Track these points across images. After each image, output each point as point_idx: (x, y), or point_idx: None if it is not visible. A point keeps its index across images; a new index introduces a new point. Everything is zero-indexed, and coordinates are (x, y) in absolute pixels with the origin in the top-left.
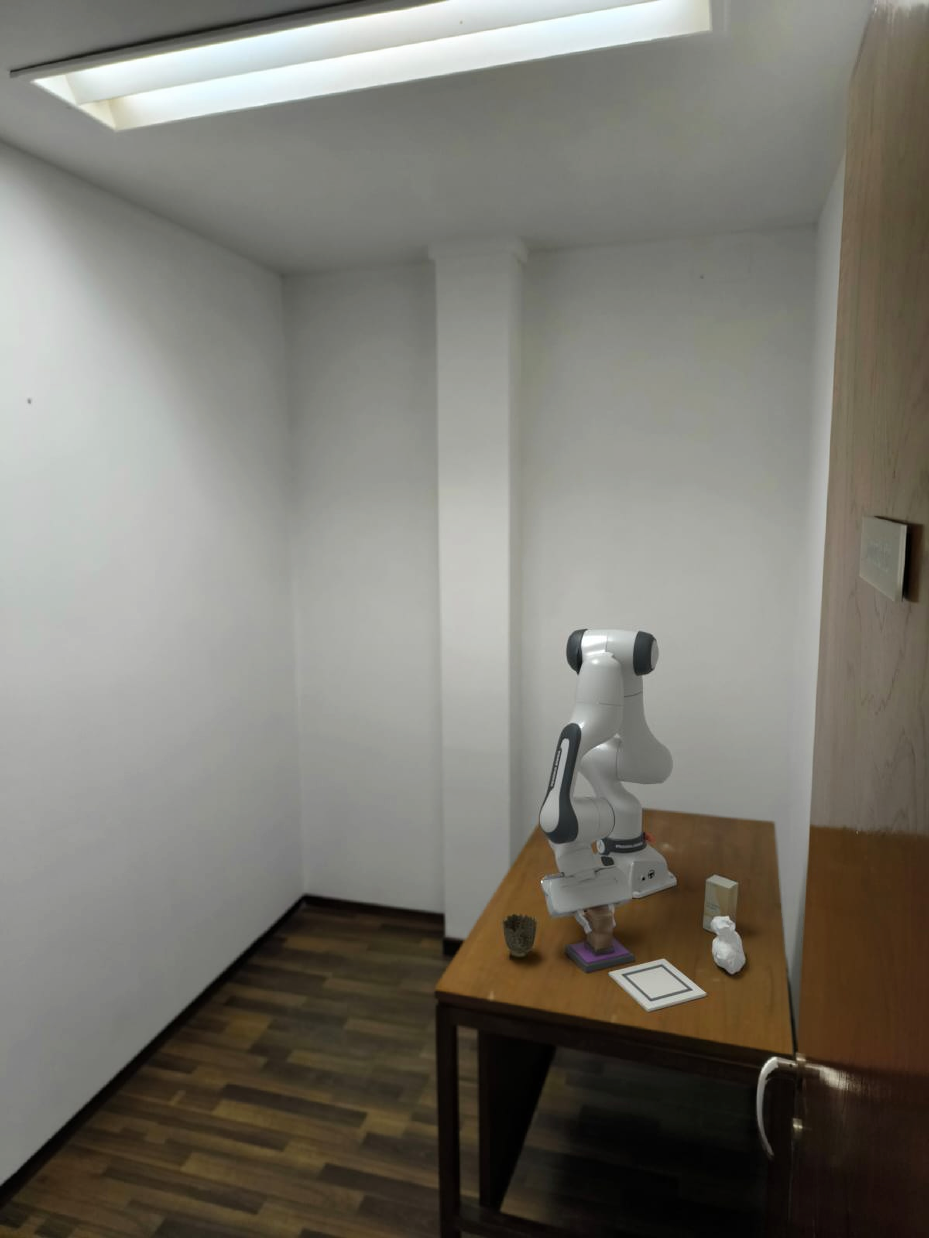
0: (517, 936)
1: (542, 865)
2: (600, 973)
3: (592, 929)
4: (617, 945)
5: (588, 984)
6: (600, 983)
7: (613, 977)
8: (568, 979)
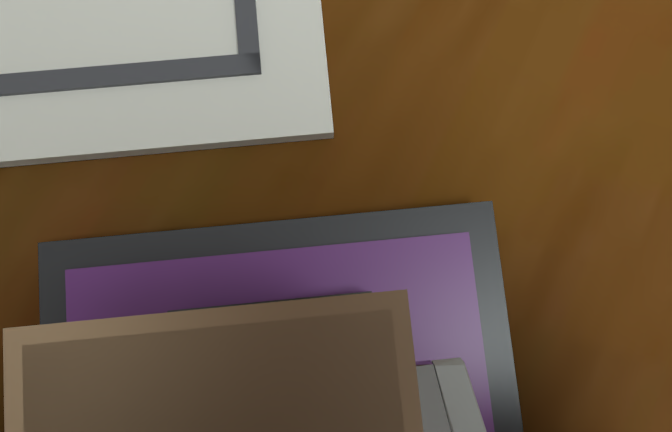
0: None
1: None
2: (381, 172)
3: None
4: None
5: (520, 75)
6: (436, 62)
7: (327, 76)
8: (632, 170)
